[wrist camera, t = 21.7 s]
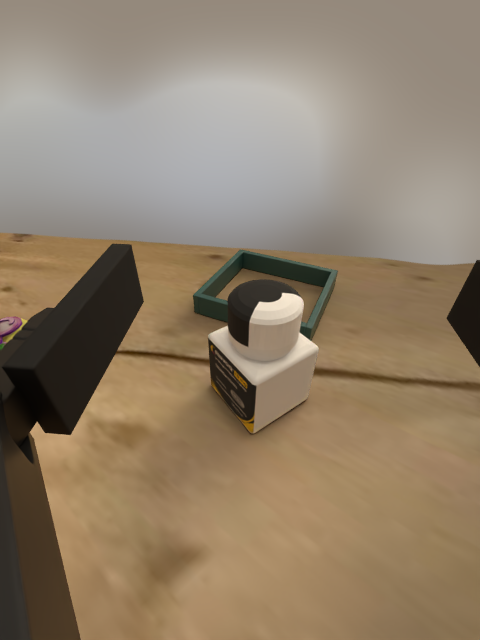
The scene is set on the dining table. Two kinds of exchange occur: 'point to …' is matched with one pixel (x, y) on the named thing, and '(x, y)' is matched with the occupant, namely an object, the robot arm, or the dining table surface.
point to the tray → (270, 265)
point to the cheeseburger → (9, 328)
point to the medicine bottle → (262, 353)
